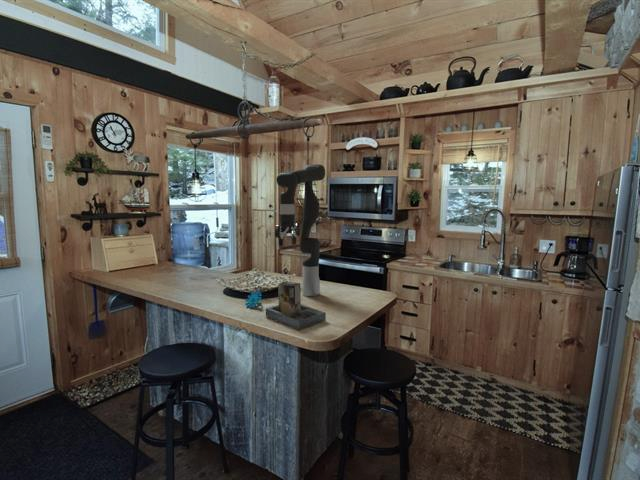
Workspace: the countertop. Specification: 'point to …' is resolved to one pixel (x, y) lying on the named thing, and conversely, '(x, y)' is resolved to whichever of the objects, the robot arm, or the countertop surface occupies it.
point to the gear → (254, 300)
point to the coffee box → (289, 297)
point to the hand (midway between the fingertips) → (287, 245)
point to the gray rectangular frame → (297, 317)
